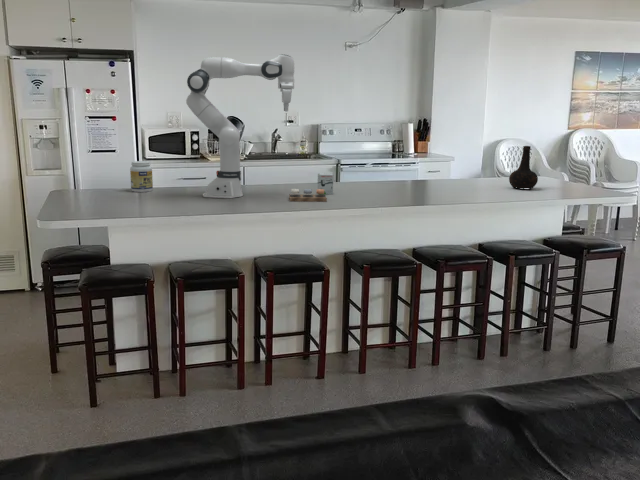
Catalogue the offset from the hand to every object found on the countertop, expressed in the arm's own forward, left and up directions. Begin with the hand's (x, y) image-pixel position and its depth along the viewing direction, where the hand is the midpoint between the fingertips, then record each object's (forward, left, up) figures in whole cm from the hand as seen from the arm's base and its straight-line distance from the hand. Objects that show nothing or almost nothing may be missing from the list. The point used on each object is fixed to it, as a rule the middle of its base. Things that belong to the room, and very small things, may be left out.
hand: (285, 111), depth 333 cm
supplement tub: (-83, +16, -48) cm, 97 cm away
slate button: (+12, -12, -44) cm, 47 cm away
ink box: (+24, +10, -48) cm, 54 cm away
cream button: (+5, -12, -44) cm, 46 cm away
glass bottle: (+157, +37, -48) cm, 168 cm away
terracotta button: (+19, -12, -44) cm, 49 cm away
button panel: (+12, -12, -48) cm, 50 cm away
